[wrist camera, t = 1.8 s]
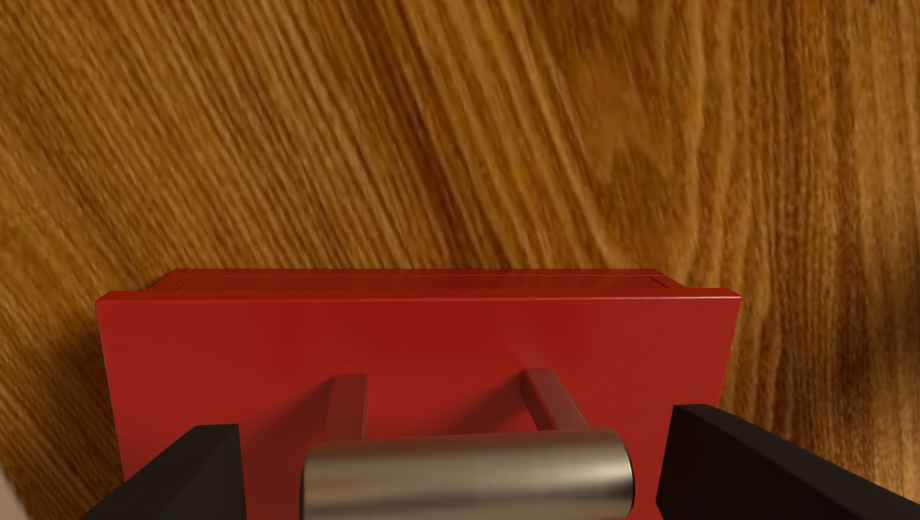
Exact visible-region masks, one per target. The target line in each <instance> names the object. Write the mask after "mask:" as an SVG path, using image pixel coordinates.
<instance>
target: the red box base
mask: <svg viewBox="0 0 920 520" xmlns="http://www.w3.org/2000/svg"><path fill="white" fill-rule="evenodd" d="M624 288H687V287H685V286H683V285H681V284H680V283H678V282H676V281H675V280H673V279H671V278H669V277H668V276H665V275H664V274H663V273H661V272H659V271H657V270H656V269H174V270H173V271H172V272H170V273H169V274H168V275H167V276H165V277H164V278H162V279H161V280H160V281H158V282H157V283H156V284H154V285H153V286H152V287H150V288H149V289H148V290H146V291H244V290H434V289H624Z"/></svg>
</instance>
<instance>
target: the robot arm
mask: <svg viewBox="0 0 920 520" xmlns="http://www.w3.org/2000/svg"><path fill="white" fill-rule="evenodd" d="M655 503H656V505H657V507H658V509H659V511H660V513H661V515H662V518H663V520H920V505H919V504H917V503H915V502H913V501H911V500H908V499H906V498H904V497H902V496H900V495H897V494H895V493H893V492H891V491H889V490H887V489H885V488H883V487H881V486H879V485H876V484H874V483H872V482H870V481H868V480H866V479H864V478H862V477H860V476H858V475H856V474H854V473H851V472H849V471H847V470H845V469H843V468H841V467H839V466H837V465H835V464H833V463H831V462H829V461H827V460H825V459H823V458H821V457H819V456H817V455H815V454H813V453H811V452H809V451H807V450H805V449H803V448H801V447H799V446H797V445H795V444H793V443H791V442H789V441H787V440H785V439H783V438H781V437H779V436H776V435H774V434H772V433H770V432H768V431H766V430H764V429H762V428H760V427H758V426H756V425H754V424H752V423H750V422H748V421H745V420H743V419H741V418H739V417H737V416H735V415H732V414H730V413H728V412H726V411H723V410H721V409H718V408H716V407H713V406H711V405H708V404H685V405H673V410H672V416H671V421H670V426H669V432H668V437H667V442H666V447H665V453H664V458H663V463H662V469H661V474H660V479H659V485H658V490H657V495H656V500H655ZM78 520H247V513H246V502H245V490H244V479H243V468H242V457H241V445H240V434H239V424H215V425H196V426H195V427H193V428H192V429H191V430H189V431H188V432H187V433H185V434H184V435H183V436H181V437H180V438H179V439H178V440H176V441H175V442H174V443H173V444H171V445H170V446H169V447H168V448H166V449H165V450H164V451H163V452H161V453H160V454H159V455H158V456H157V457H155V458H154V459H153V460H152V461H150V462H149V463H148V464H147V465H146V466H144V467H143V468H142V469H141V470H139V471H138V472H137V473H136V474H134V475H133V476H132V477H131V478H130V479H128V480H127V481H126V482H125V483H123V484H122V485H121V486H120V487H118V488H117V489H116V490H114V491H113V492H112V493H111V494H109V495H108V496H107V497H106V498H104V499H103V500H102V501H101V502H99V503H98V504H97V505H96V506H94V507H93V508H92V509H91V510H89V511H88V512H87V513H86V514H84V515H83V516H82V517H80V518H79V519H78Z"/></svg>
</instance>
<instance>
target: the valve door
mask: <svg viewBox="0 0 920 520" xmlns="http://www.w3.org/2000/svg"><path fill="white" fill-rule="evenodd" d="M741 300H742V297H741V295H739V294H737V293H735V292H733V291H731V290H729V289H727V288H624V289H434V290H244V291H111V292H108V293H107V294H105V295H104V296H102V297H101V298H99V299H98V300H96V301H95V310H96V315H97V321H98V327H99V333H100V339H101V345H102V351H103V357H104V363H105V369H106V375H107V381H108V387H109V393H110V399H111V405H112V411H113V417H114V423H115V429H116V435H117V441H118V447H119V452H120V458H121V464H122V470H123V476H124V482H126V481H127V480H128V479H130V478H131V477H132V476H133V475H134V474H136V473H137V472H138V471H139V470H141V469H142V468H143V467H144V466H146V465H147V464H148V463H149V462H150V461H152V460H153V459H154V458H155V457H157V456H158V455H159V454H160V453H161V452H163V451H164V450H165V449H166V448H168V447H169V446H170V445H171V444H173V443H174V442H175V441H176V440H178V439H179V438H180V437H181V436H183V435H184V434H185V433H187V432H188V431H189V430H191V429H192V428H193V427H195V426H196V425H215V424H239V434H240V445H241V457H242V468H243V479H244V490H245V502H246V513H247V520H663V518H662V515H661V513H660V511H659V509H658V507H657V505H656V503H655V500H656V495H657V490H658V485H659V479H660V474H661V469H662V463H663V458H664V453H665V447H666V442H667V437H668V432H669V426H670V421H671V416H672V410H673V405H685V404H708V405H711V406H713V407H716V408H718V406H719V402H720V397H721V393H722V388H723V383H724V379H725V374H726V370H727V365H728V360H729V356H730V351H731V346H732V342H733V337H734V333H735V328H736V323H737V319H738V314H739V310H740V305H741Z"/></svg>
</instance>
